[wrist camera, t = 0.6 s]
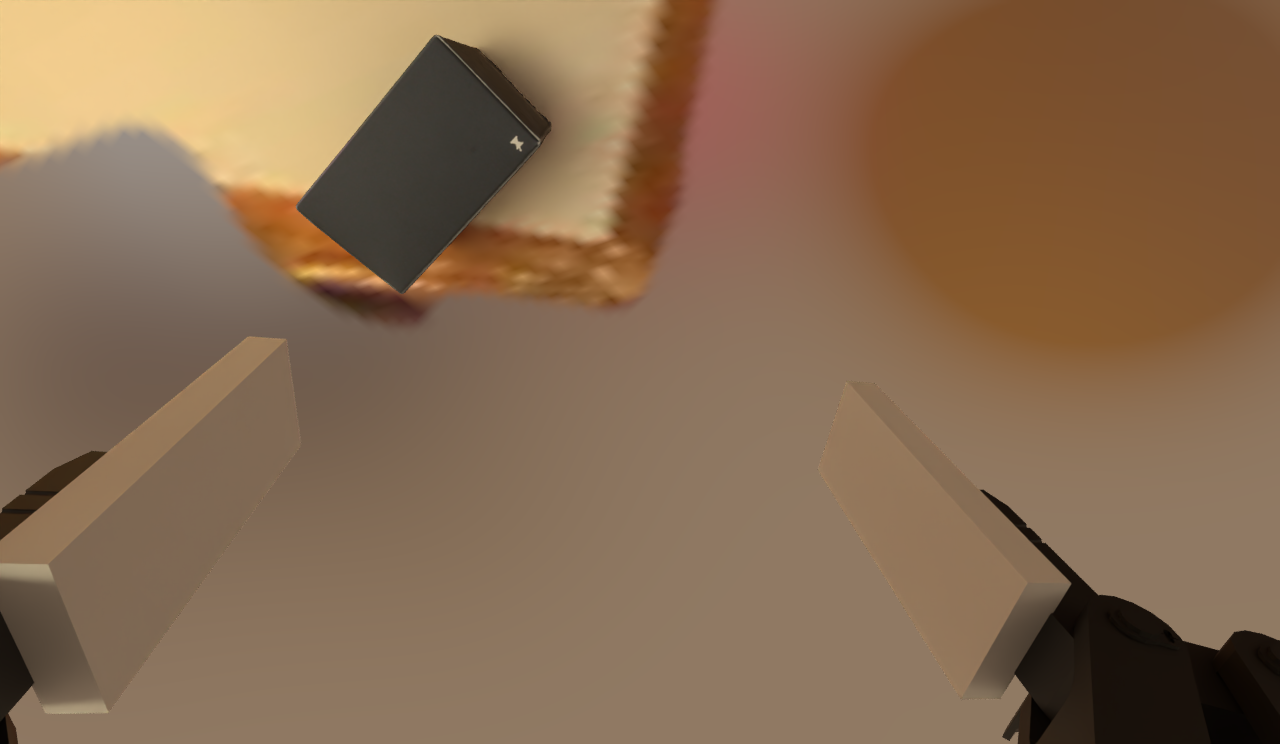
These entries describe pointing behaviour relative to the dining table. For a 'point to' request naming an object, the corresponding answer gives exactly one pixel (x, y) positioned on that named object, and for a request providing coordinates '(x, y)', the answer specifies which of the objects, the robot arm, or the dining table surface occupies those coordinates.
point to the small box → (425, 162)
